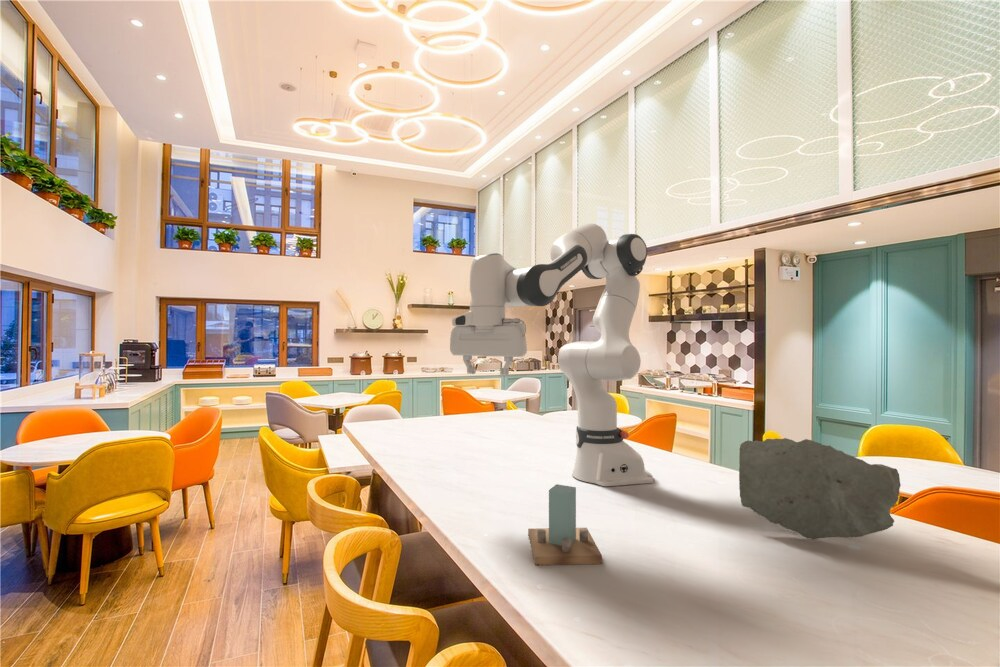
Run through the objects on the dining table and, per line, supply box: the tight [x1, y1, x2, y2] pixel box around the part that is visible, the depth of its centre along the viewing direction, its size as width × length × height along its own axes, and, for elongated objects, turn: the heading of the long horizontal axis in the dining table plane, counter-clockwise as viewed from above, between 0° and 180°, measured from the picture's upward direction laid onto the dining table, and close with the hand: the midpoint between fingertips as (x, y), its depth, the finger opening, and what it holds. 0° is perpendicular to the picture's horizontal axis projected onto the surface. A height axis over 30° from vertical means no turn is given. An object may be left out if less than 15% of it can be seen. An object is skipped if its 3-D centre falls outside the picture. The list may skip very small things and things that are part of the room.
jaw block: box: [548, 483, 577, 546], centre depth 89 cm, size 4×4×10 cm
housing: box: [527, 527, 603, 566], centre depth 89 cm, size 12×12×4 cm
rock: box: [738, 437, 902, 540], centre depth 93 cm, size 27×6×20 cm, turn 61°
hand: (487, 374), depth 116 cm, fingers open, 8 cm apart
